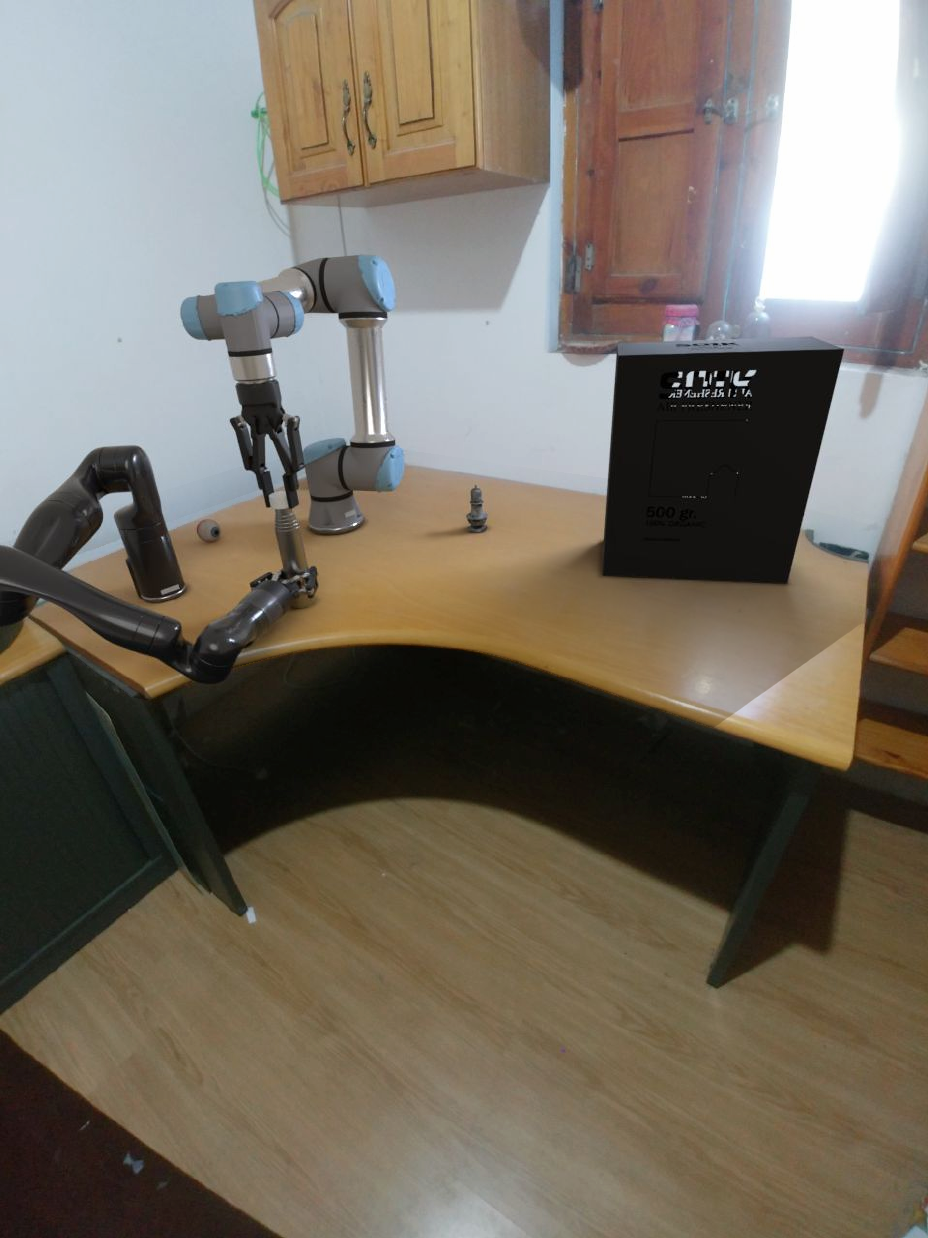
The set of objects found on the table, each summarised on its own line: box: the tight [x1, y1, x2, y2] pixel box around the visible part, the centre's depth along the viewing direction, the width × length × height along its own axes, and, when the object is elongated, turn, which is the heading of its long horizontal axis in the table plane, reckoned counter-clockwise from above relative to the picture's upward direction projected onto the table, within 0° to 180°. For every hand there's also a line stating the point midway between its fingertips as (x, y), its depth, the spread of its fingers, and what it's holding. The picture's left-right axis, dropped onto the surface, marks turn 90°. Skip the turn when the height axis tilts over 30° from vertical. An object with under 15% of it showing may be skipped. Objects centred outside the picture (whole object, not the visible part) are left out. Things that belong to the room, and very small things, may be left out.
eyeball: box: [196, 518, 222, 543], centre depth 162 cm, size 6×6×6 cm
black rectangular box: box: [602, 336, 845, 585], centre depth 127 cm, size 38×20×45 cm, turn 78°
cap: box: [269, 490, 289, 510], centre depth 118 cm, size 4×4×2 cm
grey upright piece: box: [465, 484, 489, 533], centre depth 159 cm, size 6×6×12 cm
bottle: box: [273, 508, 316, 609], centre depth 124 cm, size 5×5×23 cm
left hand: (302, 569), depth 129 cm, fingers closed on bottle, 5 cm apart
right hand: (282, 505), depth 119 cm, fingers closed on cap, 4 cm apart
